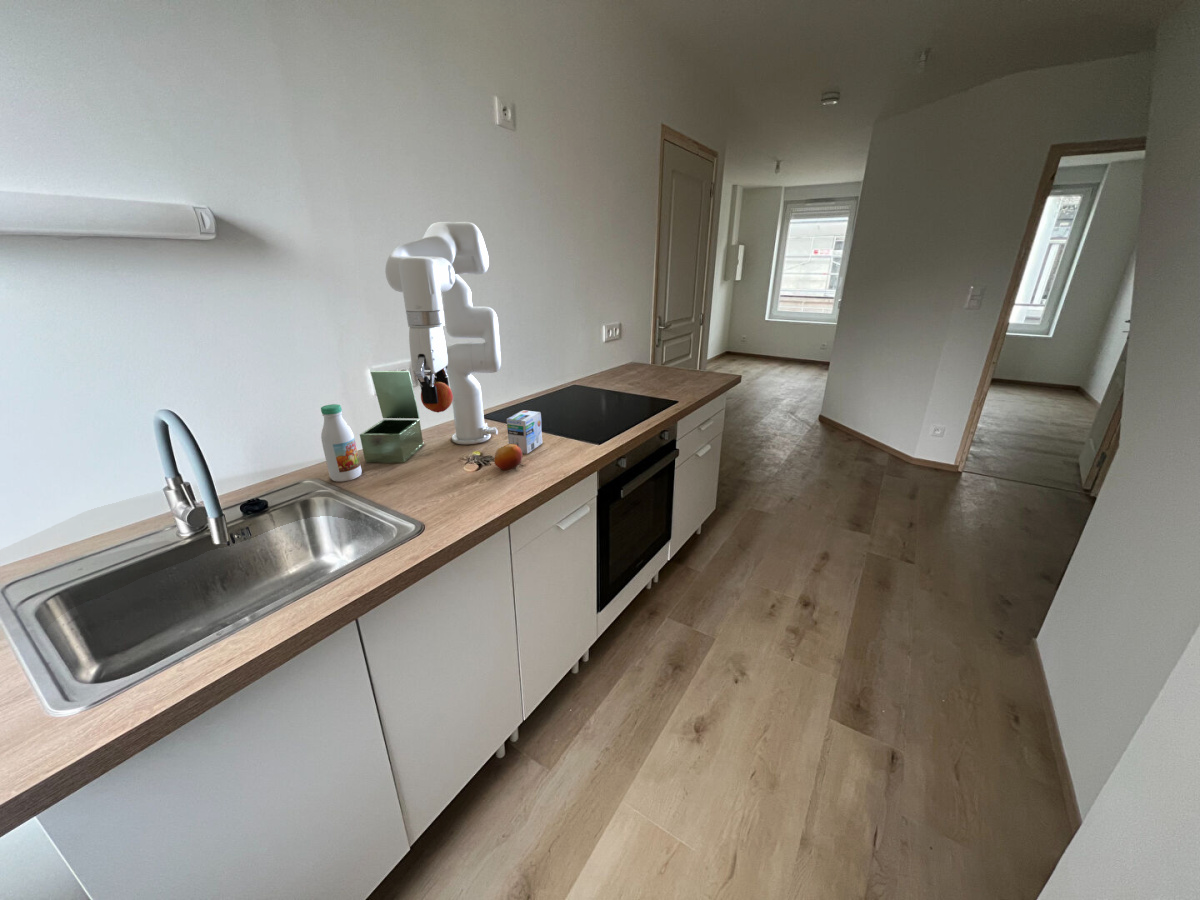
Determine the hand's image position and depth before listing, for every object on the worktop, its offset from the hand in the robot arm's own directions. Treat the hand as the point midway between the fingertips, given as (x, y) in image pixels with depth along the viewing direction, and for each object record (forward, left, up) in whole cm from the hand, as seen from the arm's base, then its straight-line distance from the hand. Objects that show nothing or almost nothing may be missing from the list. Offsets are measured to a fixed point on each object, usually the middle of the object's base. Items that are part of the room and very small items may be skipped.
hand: (437, 397), depth 104 cm
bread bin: (+26, -27, -25) cm, 46 cm away
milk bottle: (+32, -10, -25) cm, 42 cm away
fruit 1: (0, 0, -3) cm, 3 cm away
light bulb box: (-13, -33, -25) cm, 44 cm away
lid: (+26, -33, -8) cm, 43 cm away
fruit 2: (-11, -17, -25) cm, 33 cm away
